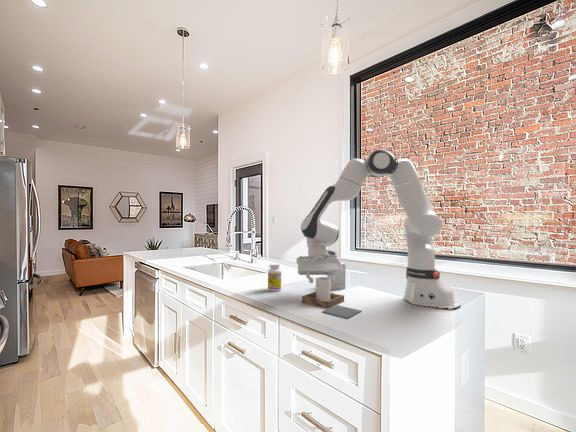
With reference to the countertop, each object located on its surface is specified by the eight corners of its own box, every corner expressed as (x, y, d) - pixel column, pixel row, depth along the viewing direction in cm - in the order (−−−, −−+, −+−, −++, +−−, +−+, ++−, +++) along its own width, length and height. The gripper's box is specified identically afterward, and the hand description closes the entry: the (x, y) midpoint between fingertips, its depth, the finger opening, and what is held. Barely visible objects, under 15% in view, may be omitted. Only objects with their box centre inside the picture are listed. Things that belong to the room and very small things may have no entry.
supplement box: (345, 288, 154) (346, 264, 154) (332, 289, 152) (332, 264, 152) (339, 285, 161) (339, 261, 161) (326, 286, 159) (326, 262, 159)
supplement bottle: (265, 289, 150) (265, 263, 150) (274, 287, 154) (275, 262, 154) (274, 292, 145) (274, 265, 145) (284, 290, 150) (284, 264, 150)
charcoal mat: (361, 311, 118) (361, 310, 118) (347, 318, 109) (347, 317, 109) (336, 305, 125) (336, 304, 125) (321, 312, 116) (321, 311, 116)
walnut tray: (344, 301, 131) (344, 295, 131) (328, 308, 121) (328, 302, 121) (318, 295, 140) (319, 290, 140) (302, 302, 130) (302, 296, 130)
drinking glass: (328, 304, 126) (329, 280, 126) (313, 302, 129) (313, 279, 129) (332, 300, 132) (332, 277, 132) (317, 298, 135) (318, 276, 135)
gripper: (296, 252, 140) (299, 278, 130) (340, 252, 141) (345, 277, 132) (295, 260, 144) (297, 286, 134) (337, 260, 146) (343, 285, 136)
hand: (322, 282), depth 133 cm, fingers open, 8 cm apart
